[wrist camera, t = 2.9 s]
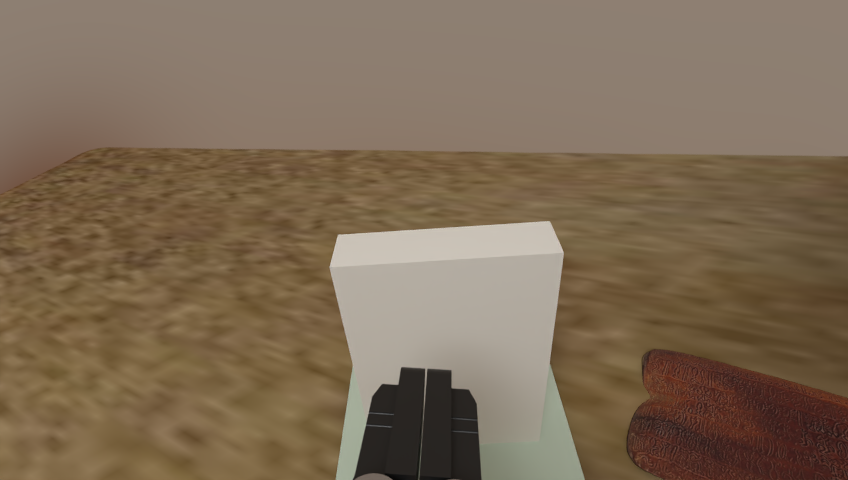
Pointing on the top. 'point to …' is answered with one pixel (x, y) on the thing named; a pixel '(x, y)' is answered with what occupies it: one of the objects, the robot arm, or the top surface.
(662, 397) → the wooden tablet
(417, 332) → the white rectangular block
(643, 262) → the top surface
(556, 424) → the cutting board
